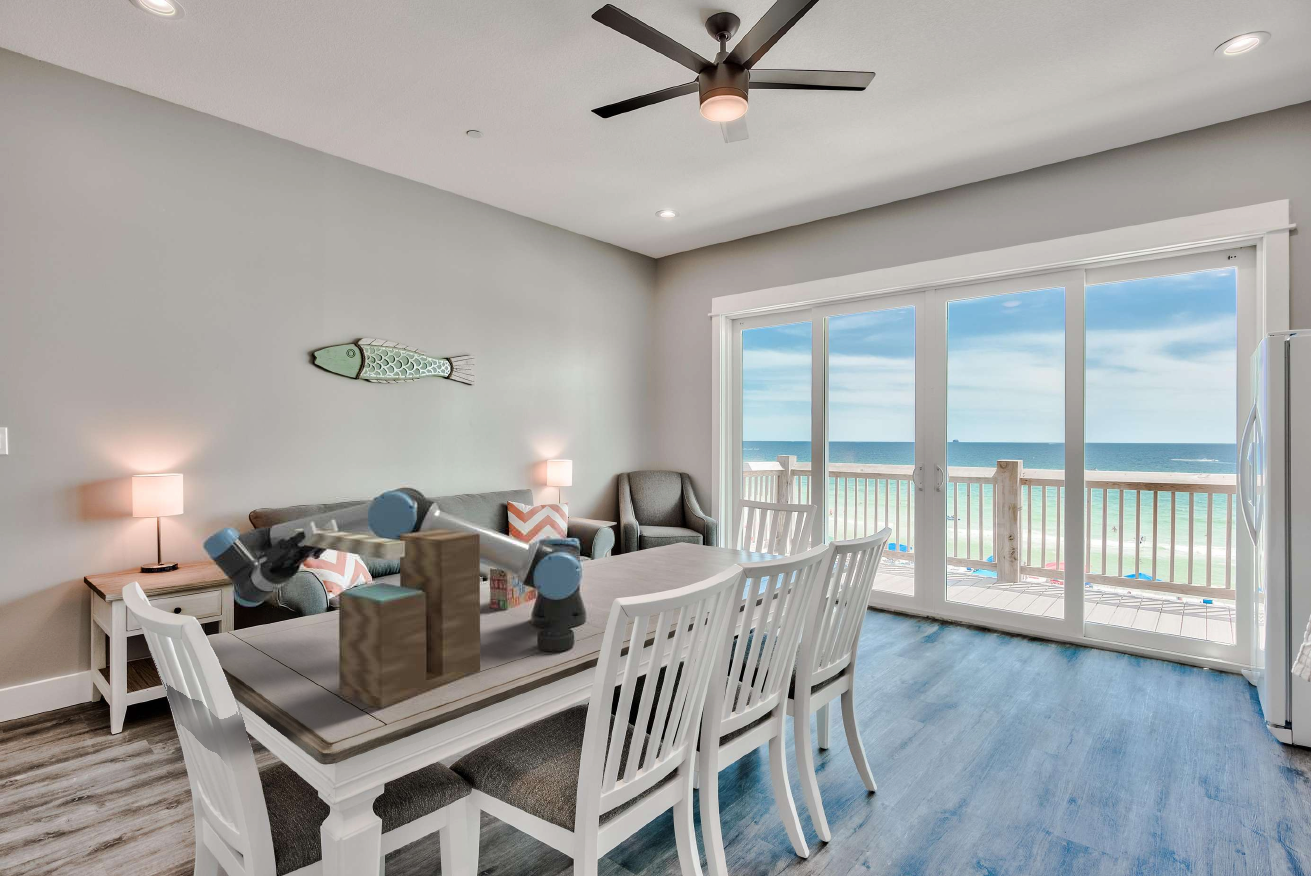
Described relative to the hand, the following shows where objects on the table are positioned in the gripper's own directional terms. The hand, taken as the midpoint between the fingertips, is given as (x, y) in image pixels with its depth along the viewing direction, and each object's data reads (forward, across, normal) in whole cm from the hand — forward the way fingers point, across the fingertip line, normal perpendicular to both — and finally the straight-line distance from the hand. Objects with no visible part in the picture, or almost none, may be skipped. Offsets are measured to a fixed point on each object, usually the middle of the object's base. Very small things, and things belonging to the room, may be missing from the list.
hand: (324, 526), depth 143 cm
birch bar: (+5, 0, -8) cm, 9 cm away
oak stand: (+2, -7, -38) cm, 39 cm away
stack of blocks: (-24, -68, -23) cm, 75 cm away
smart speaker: (+11, -40, -43) cm, 60 cm away
